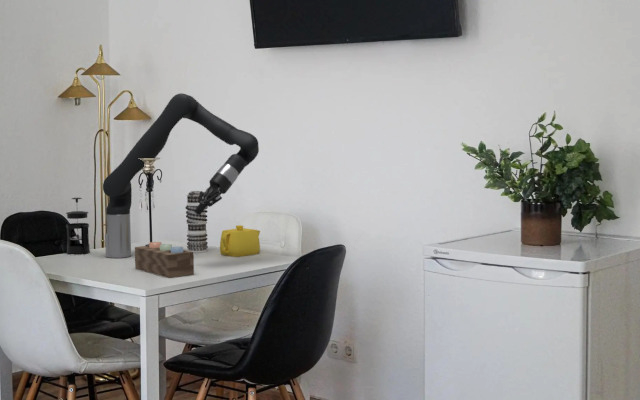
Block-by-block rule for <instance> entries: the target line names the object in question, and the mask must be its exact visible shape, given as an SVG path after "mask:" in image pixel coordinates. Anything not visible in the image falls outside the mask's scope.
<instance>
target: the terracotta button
mask: <svg viewBox="0 0 640 400" xmlns="http://www.w3.org/2000/svg"><path fill="white" fill-rule="evenodd" d="M160 245H162V242H161V241H151V242H148V246H149V248H160Z"/></svg>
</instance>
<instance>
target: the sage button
mask: <svg viewBox="0 0 640 400" xmlns="http://www.w3.org/2000/svg"><path fill="white" fill-rule="evenodd" d="M171 247H173V244H171V243H169V244H168V243H167V244H166V243H164V244H163V243H162V244H161V245H160V250H162V251H166V250H171Z"/></svg>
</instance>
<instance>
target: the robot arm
mask: <svg viewBox="0 0 640 400" xmlns="http://www.w3.org/2000/svg"><path fill="white" fill-rule="evenodd" d="M182 119H187V120H190V121H192V122H195V123H197V124H198V125H200V126H202V127H204V129H206V130H207V131H208V132H209V133H211V134H212V135H213V136H214V137H216V138H218V139H219V140H220V141H223V142H224V143H225V144H227V145H229V146H233V145H236V146H237V147H239V148H240V149H239V151H238V152H236V153H233V154H231V155H230V156H229V157H228V158H227V160H226V161H225V162H224V163H223V164H222V165H221V166H220V167H219V169H218V170H217V171H216V173H214V174H213V176H212V177H211V178H210V180H209V186H208V187H207V188H206V189H205V191H203V190H201V192H200V194H199V198H198V202H199V203H200V204H199V205H198V206H197V208H196V209H195V210H194V212H195V213H196V214H197V215H200V214H201V213H202V212H203V210H204V209H205V208H207V207H208V208H209V207H210V208H211V207H213V206H214V205H215V204H217V203H218V202H219V201H221V200H222V199H223V197H222V194H223V195H224V194H226V193H227V192H228V191H229V190H230V188H231V187H232V186H233V184H234V183H235V182H236V181H237V179H238V177H239V176H240V174H241V173H242V171H243V170H244V169H245V168H246V167H247V166H249V164H251V163H252V162H253V161H254V160H255V159H256V158H257V156H258V155H259V152H260V151H259V150H260V147H259V140H258V138H257V137H256V136H255V135H253V134H252V133H251V132H248V131H245V130H242V129H239V128H237V127H235V126H234V125H232V124H231V123H229V122H227V121H226V120H224V119H222V118H221V117H219V116H217V115H215V114H213V113H212V112H211V111H210V110H208V109H207V108H205V107H204V106H203V105H202V104H201V103H200V102H199V101H198V100H197V99H195V97H194V96H192V95H190V94H186V93H181V92H180V93H177V94H175V95H173V96H172V97H171V99H169V101H168V103H167V105H166V106H165V107H164V109H163V110H162V112H161V113H160V115H158V118H157V119H156V120H155V121H154V122H153V124H151V125H150V127H149V128H148V129H147V131H145V132H144V134H143V135H142V136H141V137H140V138H139V140H138V141H137V142H136V144H135V145H133V147H132V149H130V151H129V153H127V155H126V156H125V158H124V159H123V161H121V163H120V164H119V165H118V166H117V167H116V168H115V169H114V170H112V171H111V173H110V174H109V175H107V177H105V179H104V180H103V183H102V191H103V193H104V194H105V195H106V196H107V197H109V199H108V200H109V201H108V205H107V207H106V210H105V211H106V212H105V213H106V214H105V215H106V233H105V234H104V236H105V237H104V238H105V239H104V240H105V257H106V258H113V259H118V258H119V259H120V258H122V259H123V258H129V257H131V256H132V240H131V239H132V238H131V237H132V236H131V235H132V233H131V232H132V231H131V207H132V194H133V193H132V182H131V181H132V180H133V179H134V177H135V176H136V175H137V174H138V173H140V171H142V170H143V169H144V168H145V167H144V162H143V161H142V160H140V159H138V158H154V159H155V158H156V157H158V155H159V154H160V153H161V152H162V150H163V149H164V148H165V146H166V144H167V141H168V138H169V136H170V134H171V131H172V130H173V129H174V128H175V126H176V125H177V124H178V123H179V122H180V121H181V120H182ZM143 167H144V168H143ZM208 208H207V209H208ZM205 210H206V209H205Z"/></svg>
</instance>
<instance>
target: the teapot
mask: <svg viewBox="0 0 640 400" xmlns="http://www.w3.org/2000/svg"><path fill="white" fill-rule="evenodd" d="M260 232H261V230H257V229H254V228H245V227H244V225H242V224H241V225H235V228H231V229H225V230H222V231H221V233H220V235H221V236H220V241H219V252H220V255H222V256H225V257H234V258H241V257H250V256H255V255H260V250H261V243H260V237H259V236H260Z"/></svg>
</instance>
